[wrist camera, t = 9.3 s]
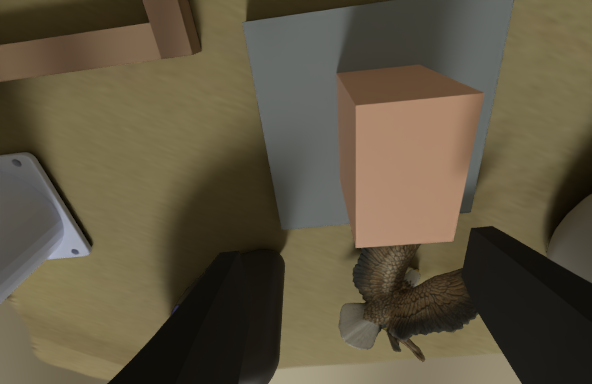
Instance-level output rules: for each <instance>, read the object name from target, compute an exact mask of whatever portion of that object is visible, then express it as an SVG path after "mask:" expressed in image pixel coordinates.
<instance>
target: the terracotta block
mask: <svg viewBox="0 0 592 384" xmlns="http://www.w3.org/2000/svg"><path fill="white" fill-rule="evenodd" d="M336 80H337V112H338V144H339V176H340V184H341V188H342V192H343V196H344V201H345V205H346V209H347V213H348V217H349V222H350V226H351V230H352V234H353V239H354V243H355V247H356V248H364V247H379V246H393V245H408V244H422V243H436V242H451V241H453V240H454V235H455V230H456V226H457V221H458V216H459V211H460V207H461V202H462V197H463V193H464V188H465V183H466V178H467V174H468V169H469V164H470V160H471V155H472V150H473V145H474V141H475V136H476V131H477V126H478V122H479V117H480V112H481V108H482V103H483V98H484V93H483V92H481V91H479V90H476V89H474V88H472V87H470V86H467V85H465V84H463V83H460V82H458V81H456V80H454V79H451V78H449V77H447V76H444V75H442V74H440V73H438V72H435V71H433V70H431V69H428V68H426V67H424V66H422V65H410V66H401V67H391V68H381V69H372V70H362V71H353V72H343V73H336Z"/></svg>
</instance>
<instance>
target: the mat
mask: <svg viewBox="0 0 592 384" xmlns="http://www.w3.org/2000/svg"><path fill="white" fill-rule="evenodd" d="M513 3H514V0H391V1H384V2H377V3H370V4H363V5H357V6H350V7H343V8H336V9H329V10H322V11H316V12H309V13H302V14H295V15H288V16H281V17H275V18H268V19H261V20H254V21H247V22H242V23H243V28H244V33H245V39H246V44H247V49H248V54H249V60H250V65H251V70H252V76H253V81H254V86H255V91H256V97H257V102H258V107H259V113H260V118H261V123H262V128H263V134H264V139H265V144H266V150H267V155H268V160H269V165H270V171H271V176H272V181H273V187H274V192H275V197H276V203H277V208H278V213H279V218H280V224H281V229H282V230H289V229H299V228H310V227H321V226H331V225H342V224H350V222H349V217H348V213H347V209H346V205H345V201H344V196H343V192H342V188H341V184H340V176H339V144H338V112H337V80H336V73H343V72H353V71H362V70H372V69H381V68H391V67H401V66H410V65H422V66H424V67H426V68H428V69H431V70H433V71H435V72H438V73H440V74H442V75H444V76H447V77H449V78H451V79H454V80H456V81H458V82H460V83H463V84H465V85H467V86H470V87H472V88H474V89H476V90H479V91H481V92H483V93H484V98H483V103H482V108H481V112H480V117H479V122H478V126H477V131H476V136H475V141H474V145H473V150H472V155H471V160H470V164H469V169H468V174H467V178H466V183H465V188H464V193H463V197H462V202H461V207H460V211H459V213H469V212H471V209H472V204H473V199H474V194H475V189H476V184H477V179H478V174H479V169H480V164H481V160H482V155H483V150H484V145H485V140H486V135H487V130H488V125H489V120H490V115H491V111H492V106H493V101H494V96H495V91H496V86H497V81H498V76H499V71H500V66H501V62H502V57H503V52H504V47H505V42H506V37H507V32H508V27H509V22H510V18H511V13H512V8H513Z"/></svg>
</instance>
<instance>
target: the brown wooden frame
mask: <svg viewBox="0 0 592 384" xmlns="http://www.w3.org/2000/svg"><path fill="white" fill-rule="evenodd" d="M142 1H143V4H144V7H145V10H146V13H147V16H148V19H149V22H150V23H145V24H138V25H131V26H125V27H118V28H111V29H105V30H98V31H91V32H85V33H78V34H71V35H64V36H58V37H51V38H44V39H38V40H31V41H24V42H18V43H11V44H4V45H0V82H2V81H9V80H17V79H24V78H31V77H38V76H45V75H52V74H59V73H67V72H74V71H81V70H88V69H95V68H102V67H109V66H116V65H124V64H131V63H138V62H145V61H152V60H159V59H166V58H174V57H181V56H188V55H193V54H196V53H198V52H201V47H200V43H199V39H198V35H197V32H196V28H195V24H194V20H193V16H192V12H191V9H190V5H189V1H188V0H142Z"/></svg>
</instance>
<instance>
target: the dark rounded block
mask: <svg viewBox="0 0 592 384" xmlns="http://www.w3.org/2000/svg"><path fill="white" fill-rule="evenodd" d="M240 257H241V261H242V264H243V267H244V271H245V274H246V278H247V281H248V284H249V288H250V291H251V294H252V297H251V312H250V323H249V330H248V336H247V341H246V346H245V351H244V356H243V362H242V367H241V372H240V377H239V382H238V384H268V383H269V382H270V380H271V378H272V377H273V375H274V373H275V371H276V369H277V366H278V363H279V357H280V340H281V323H282V306H283V289H284V273H285V263H284V260H283V258H282V256H281V255H280V254H279V253H277V252H275V251H271V250H257V251H252V252H248V253H245V254H242V255H240ZM202 276H203V275H202ZM202 276H201V277H202ZM201 277H199V278H198V279H197V280H196V281H195V282H194V283H193V284H192V285H191V286H190V287H189V288H188V289H187V290H186V291H185V292H184V294H183V295H182V296H181V298H180V299H179V301H178V302H177V304H176V306H175V307H174V309H173V311H172V314H173V313H174V312H175V310H176V309H177V308H178V307H179V305H180V304H181V303H182V302H183V300H184V299H185V298H186V296H187V295H188V294H189V293H190V291H191V290H192V289H193V288H194V286H195V285H196V284H197V282H198V281H199V280H200V278H201ZM172 314H171V315H172Z"/></svg>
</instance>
